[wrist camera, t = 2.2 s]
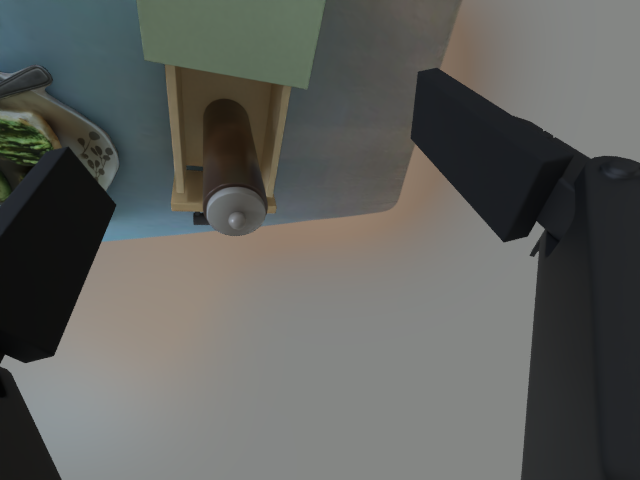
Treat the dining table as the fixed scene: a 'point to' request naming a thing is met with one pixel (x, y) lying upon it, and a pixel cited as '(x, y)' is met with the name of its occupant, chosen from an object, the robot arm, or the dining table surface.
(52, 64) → the dining table surface
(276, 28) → the cabinet
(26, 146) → the salad plate
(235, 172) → the pepper mill
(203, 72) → the drawer
